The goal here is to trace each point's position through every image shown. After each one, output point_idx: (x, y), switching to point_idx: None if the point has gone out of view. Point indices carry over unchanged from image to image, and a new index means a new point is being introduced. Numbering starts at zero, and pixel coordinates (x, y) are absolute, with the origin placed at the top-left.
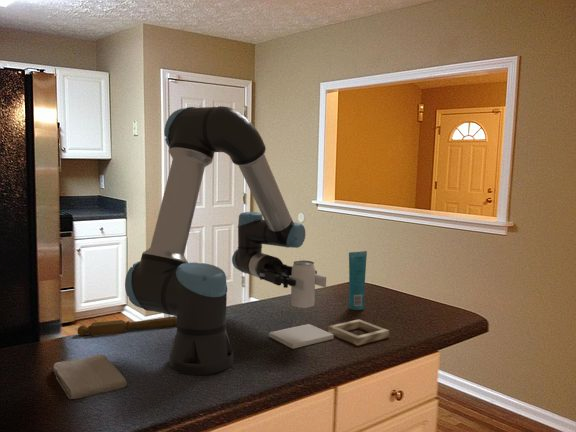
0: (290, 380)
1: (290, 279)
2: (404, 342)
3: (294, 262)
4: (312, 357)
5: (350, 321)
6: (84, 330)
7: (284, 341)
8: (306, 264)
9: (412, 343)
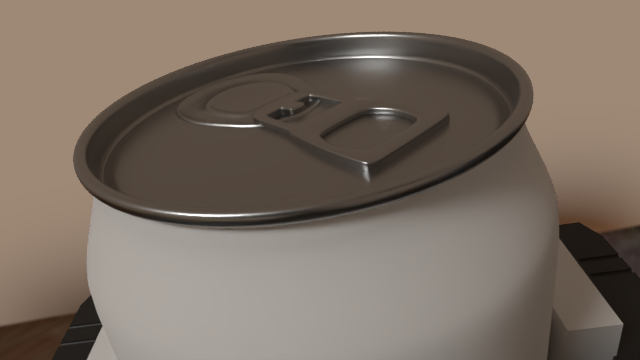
0: (630, 236)
1: (602, 275)
2: (36, 343)
3: (466, 165)
4: None
5: None
6: None
7: None
8: (303, 82)
9: (30, 326)
